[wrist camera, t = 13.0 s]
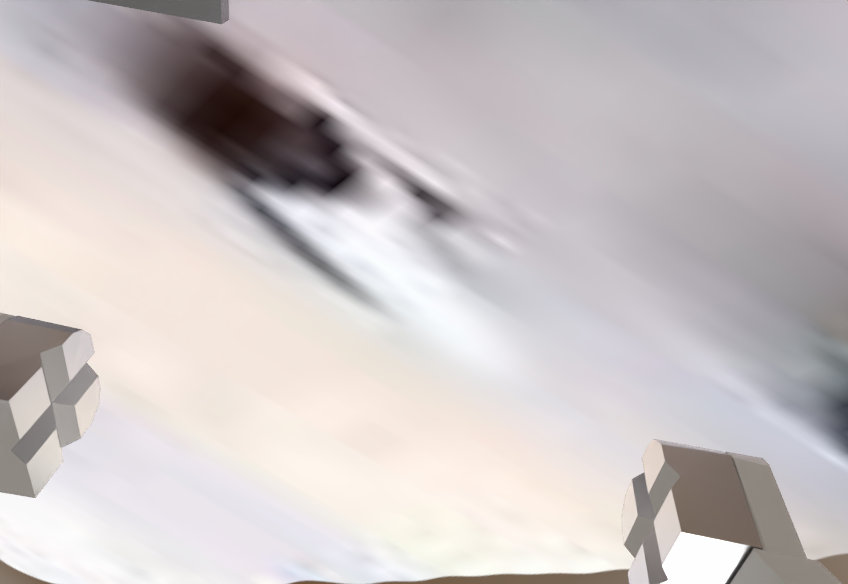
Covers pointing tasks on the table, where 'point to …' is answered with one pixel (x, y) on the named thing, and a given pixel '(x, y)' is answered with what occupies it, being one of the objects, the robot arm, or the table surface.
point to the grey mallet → (180, 8)
